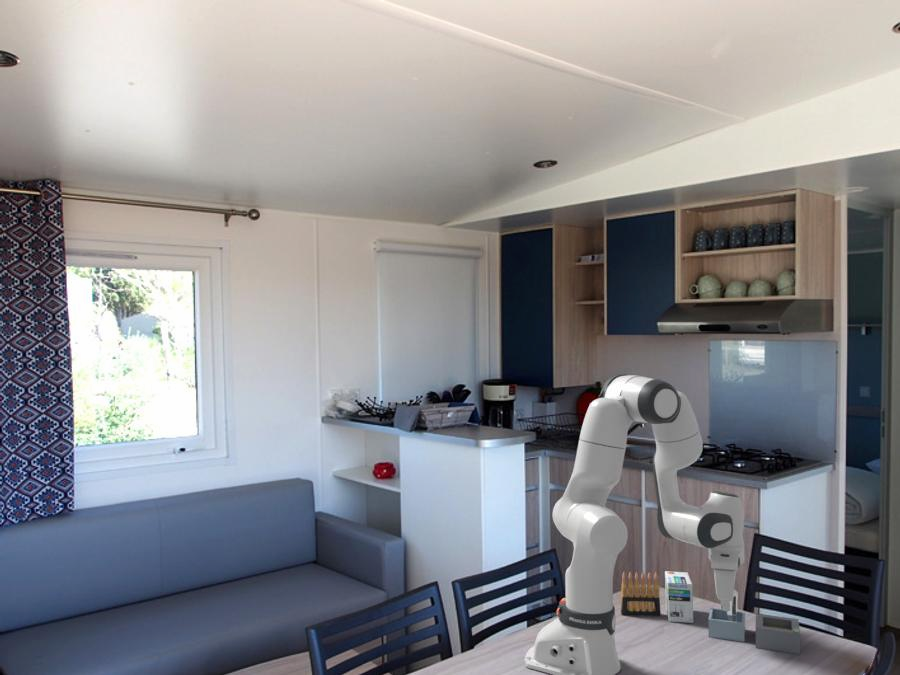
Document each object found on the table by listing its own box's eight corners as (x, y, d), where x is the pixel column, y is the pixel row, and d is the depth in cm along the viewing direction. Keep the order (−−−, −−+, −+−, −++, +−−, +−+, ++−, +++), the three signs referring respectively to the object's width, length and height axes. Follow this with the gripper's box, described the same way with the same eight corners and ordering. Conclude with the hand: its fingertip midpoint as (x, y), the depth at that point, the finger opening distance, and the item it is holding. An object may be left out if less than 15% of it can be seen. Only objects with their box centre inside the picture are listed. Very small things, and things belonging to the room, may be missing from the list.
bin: (708, 636, 189) (708, 619, 189) (711, 624, 197) (710, 607, 197) (744, 641, 186) (744, 623, 186) (745, 629, 194) (745, 612, 194)
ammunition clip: (621, 615, 205) (621, 572, 205) (620, 612, 207) (620, 570, 207) (660, 616, 204) (660, 573, 204) (659, 613, 206) (658, 571, 206)
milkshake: (717, 620, 194) (715, 582, 195) (738, 622, 193) (737, 583, 193) (717, 626, 190) (716, 587, 190) (739, 627, 188) (738, 588, 189)
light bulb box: (693, 623, 198) (693, 584, 198) (668, 622, 200) (667, 582, 200) (689, 609, 209) (688, 571, 209) (664, 608, 210) (664, 570, 210)
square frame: (755, 647, 182) (755, 625, 182) (756, 632, 192) (756, 611, 192) (800, 654, 178) (799, 631, 178) (798, 638, 188) (798, 616, 188)
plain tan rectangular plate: (764, 636, 183) (764, 633, 183) (764, 627, 189) (764, 624, 189) (790, 640, 181) (790, 636, 181) (790, 631, 187) (790, 627, 187)
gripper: (716, 542, 202) (716, 592, 202) (710, 563, 184) (711, 618, 184) (740, 544, 200) (741, 594, 200) (737, 566, 181) (738, 622, 181)
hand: (726, 606), depth 192 cm, fingers closed on milkshake, 4 cm apart
